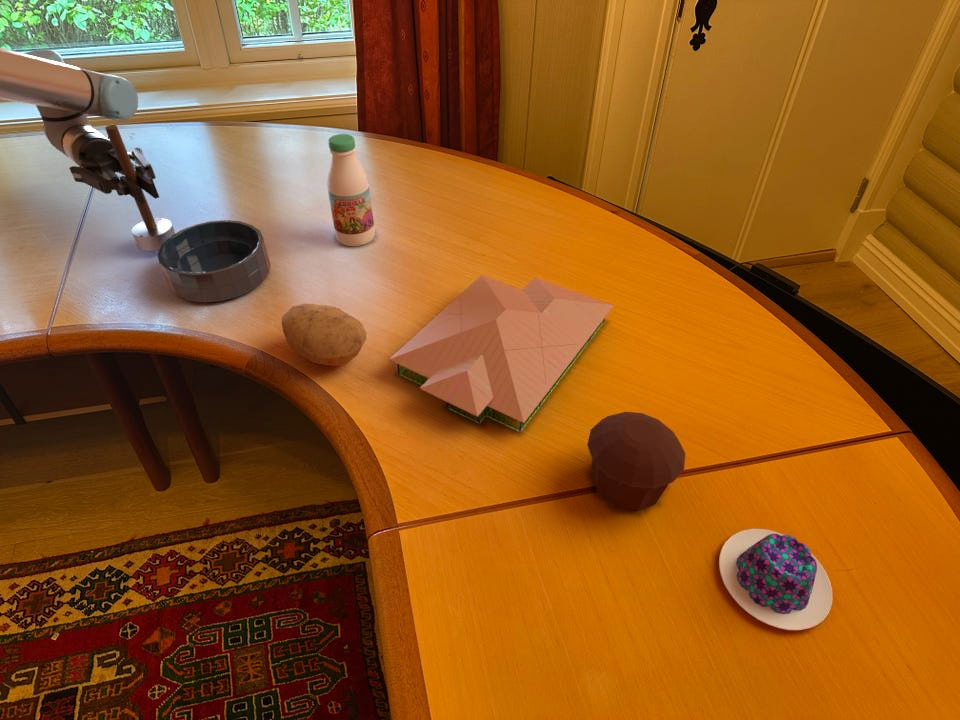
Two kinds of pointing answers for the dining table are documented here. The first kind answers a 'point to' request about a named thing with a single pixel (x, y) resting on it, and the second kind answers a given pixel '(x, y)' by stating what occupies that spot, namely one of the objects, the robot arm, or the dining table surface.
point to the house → (502, 346)
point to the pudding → (775, 579)
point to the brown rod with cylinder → (150, 229)
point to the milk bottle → (349, 194)
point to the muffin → (634, 459)
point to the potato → (323, 333)
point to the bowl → (214, 260)
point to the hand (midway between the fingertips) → (147, 193)
